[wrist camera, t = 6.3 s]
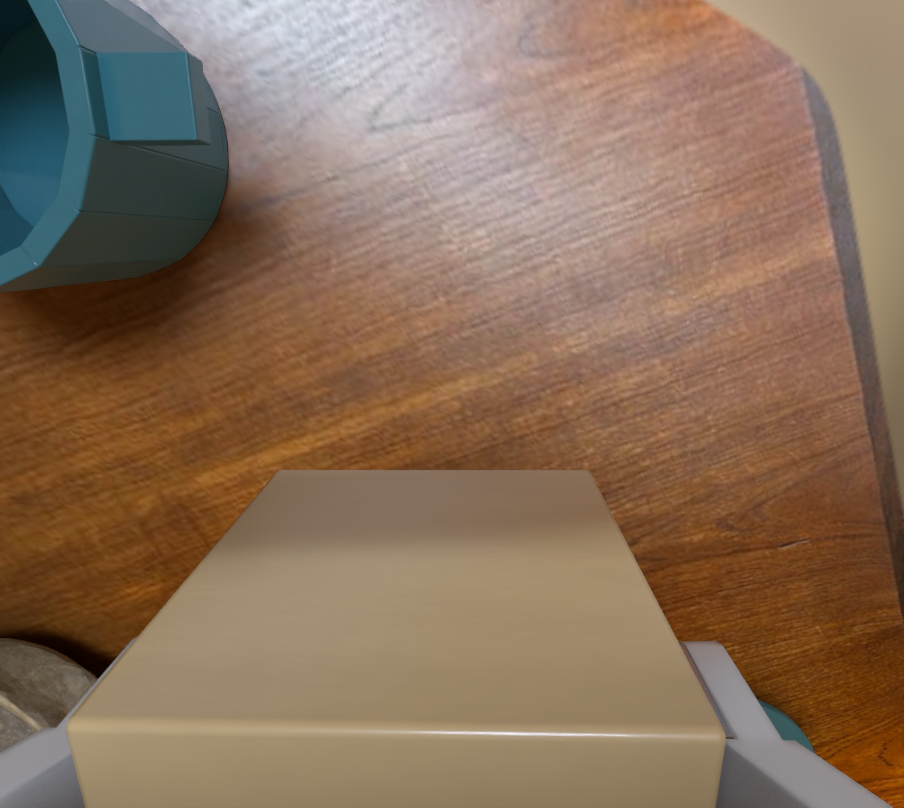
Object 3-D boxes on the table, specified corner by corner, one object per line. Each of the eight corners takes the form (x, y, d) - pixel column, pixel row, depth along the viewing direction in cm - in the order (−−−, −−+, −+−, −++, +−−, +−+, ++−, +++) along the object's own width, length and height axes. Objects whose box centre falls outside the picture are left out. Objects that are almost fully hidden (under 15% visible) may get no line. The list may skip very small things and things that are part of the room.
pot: (-116, -1, 24) (-473, -145, 15) (275, -8, 23) (149, -163, 14) (-48, 276, 27) (-307, 294, 18) (297, 276, 27) (205, 296, 18)
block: (276, 467, 9) (56, 724, 4) (590, 468, 9) (733, 735, 4) (303, 718, 10) (161, 1127, 6) (575, 722, 10) (667, 1147, 5)
